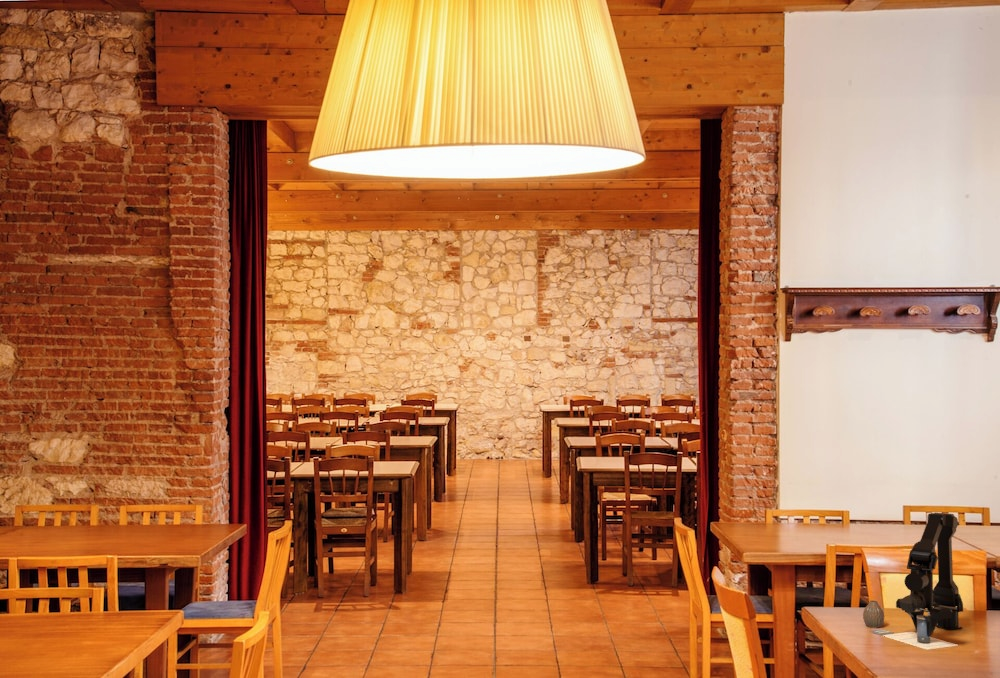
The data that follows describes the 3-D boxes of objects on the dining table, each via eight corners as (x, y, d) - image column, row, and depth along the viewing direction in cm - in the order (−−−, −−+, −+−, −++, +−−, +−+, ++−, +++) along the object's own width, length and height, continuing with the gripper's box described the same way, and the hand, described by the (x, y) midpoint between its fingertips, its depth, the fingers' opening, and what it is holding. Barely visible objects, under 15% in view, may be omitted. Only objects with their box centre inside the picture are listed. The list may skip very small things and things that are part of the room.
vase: (885, 629, 355) (885, 603, 356) (864, 628, 357) (864, 602, 357) (882, 624, 362) (882, 599, 362) (861, 623, 363) (861, 598, 364)
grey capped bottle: (923, 639, 340) (923, 614, 340) (933, 642, 336) (933, 617, 336) (913, 640, 338) (913, 615, 338) (923, 643, 334) (923, 618, 334)
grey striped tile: (883, 630, 354) (883, 629, 354) (893, 633, 350) (893, 632, 350) (870, 632, 351) (870, 630, 351) (880, 635, 347) (880, 633, 347)
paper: (912, 632, 351) (912, 631, 351) (957, 645, 334) (957, 644, 334) (882, 636, 346) (882, 635, 346) (927, 649, 329) (927, 648, 329)
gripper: (883, 583, 343) (883, 630, 342) (927, 594, 326) (927, 644, 325) (908, 580, 347) (909, 627, 347) (953, 591, 330) (954, 640, 330)
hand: (923, 635), depth 337 cm, fingers closed on grey capped bottle, 4 cm apart
